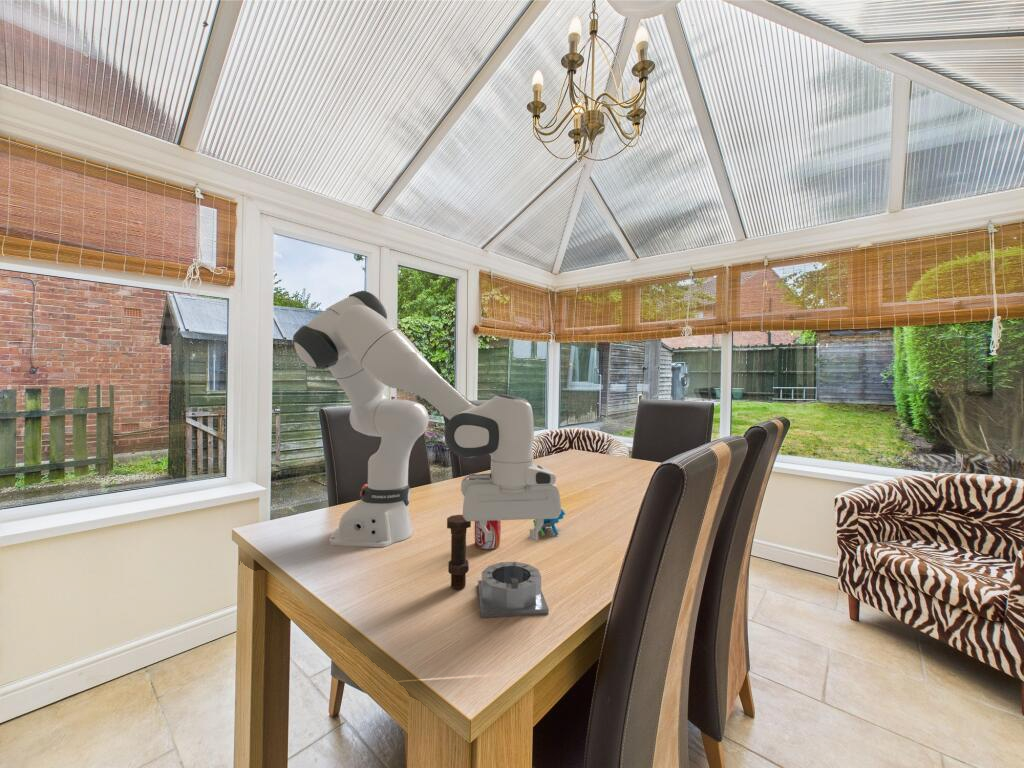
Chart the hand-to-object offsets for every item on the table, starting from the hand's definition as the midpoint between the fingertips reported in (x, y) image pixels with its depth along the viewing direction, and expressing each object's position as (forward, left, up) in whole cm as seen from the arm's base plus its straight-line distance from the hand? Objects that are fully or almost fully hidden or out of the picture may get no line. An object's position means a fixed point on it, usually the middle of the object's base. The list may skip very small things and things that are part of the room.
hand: (511, 540), depth 86 cm
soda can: (-3, +28, -12) cm, 31 cm away
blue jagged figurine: (+15, +38, -13) cm, 43 cm away
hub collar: (0, 0, -12) cm, 12 cm away
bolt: (-11, +6, -12) cm, 17 cm away
